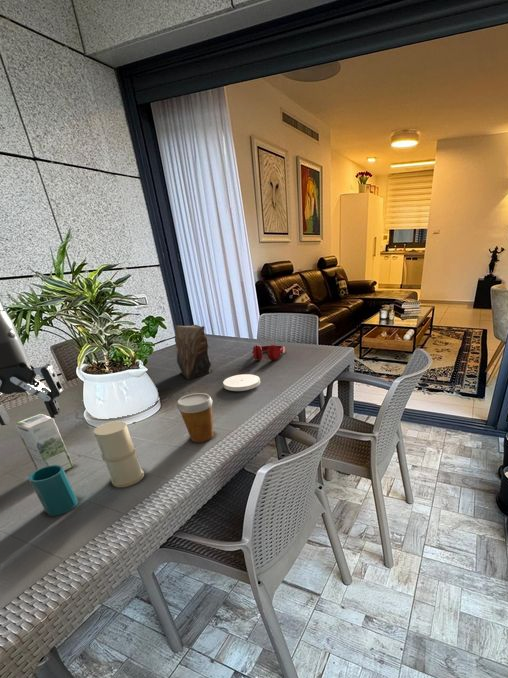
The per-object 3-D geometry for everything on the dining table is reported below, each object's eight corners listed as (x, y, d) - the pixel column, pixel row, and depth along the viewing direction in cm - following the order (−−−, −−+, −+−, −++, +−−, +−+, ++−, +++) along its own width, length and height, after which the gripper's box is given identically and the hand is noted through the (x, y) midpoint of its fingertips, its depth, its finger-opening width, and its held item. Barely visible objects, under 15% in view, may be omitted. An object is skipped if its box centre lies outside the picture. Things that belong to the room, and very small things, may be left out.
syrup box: (61, 461, 93) (38, 412, 86) (75, 467, 91) (53, 416, 84) (38, 473, 89) (12, 422, 82) (52, 479, 86) (26, 427, 79)
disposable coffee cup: (220, 427, 107) (213, 391, 102) (217, 443, 99) (209, 404, 93) (188, 431, 106) (179, 394, 100) (182, 447, 98) (172, 408, 92)
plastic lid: (222, 383, 141) (221, 377, 140) (257, 378, 145) (256, 372, 144) (225, 395, 129) (224, 389, 128) (263, 390, 133) (262, 383, 132)
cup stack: (105, 485, 83) (84, 433, 77) (126, 468, 89) (109, 419, 83) (130, 489, 82) (111, 437, 75) (150, 471, 88) (134, 421, 81)
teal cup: (39, 513, 75) (21, 479, 71) (63, 496, 80) (47, 463, 76) (61, 517, 74) (44, 483, 70) (84, 499, 79) (69, 466, 74)
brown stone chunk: (178, 372, 155) (167, 326, 146) (206, 366, 161) (198, 321, 152) (187, 379, 146) (176, 331, 137) (216, 373, 152) (207, 326, 143)
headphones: (280, 361, 162) (287, 354, 181) (279, 345, 160) (286, 340, 178) (248, 361, 163) (259, 355, 182) (247, 346, 161) (257, 341, 180)
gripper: (45, 330, 67) (76, 407, 75) (-44, 338, 64) (-2, 417, 72) (29, 339, 61) (65, 422, 69) (-71, 348, 58) (-22, 434, 65)
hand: (31, 419), depth 70 cm, fingers open, 8 cm apart
